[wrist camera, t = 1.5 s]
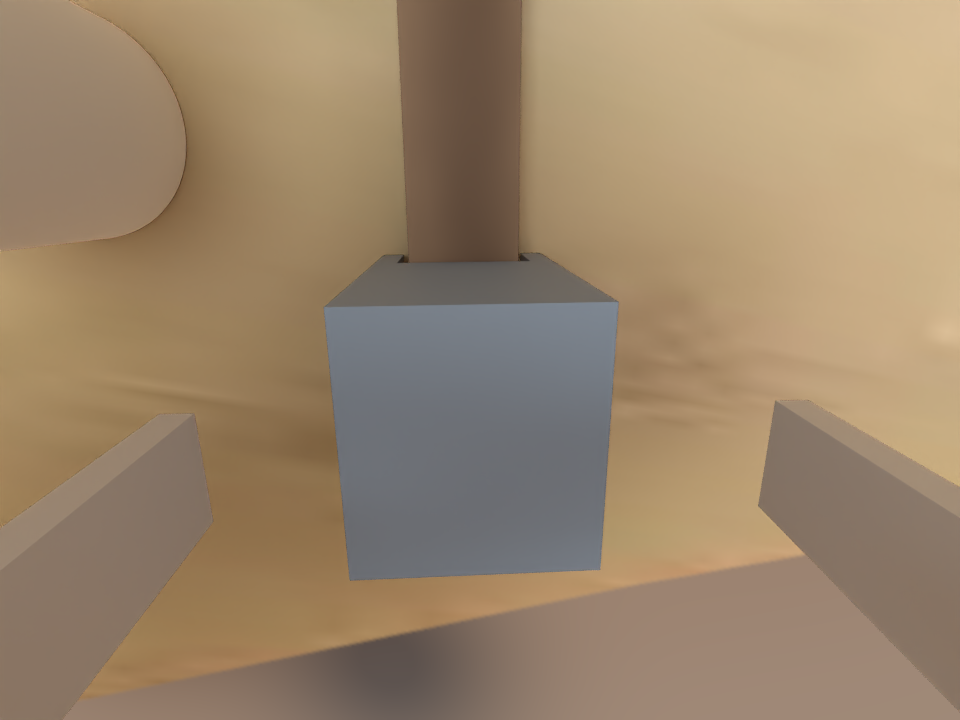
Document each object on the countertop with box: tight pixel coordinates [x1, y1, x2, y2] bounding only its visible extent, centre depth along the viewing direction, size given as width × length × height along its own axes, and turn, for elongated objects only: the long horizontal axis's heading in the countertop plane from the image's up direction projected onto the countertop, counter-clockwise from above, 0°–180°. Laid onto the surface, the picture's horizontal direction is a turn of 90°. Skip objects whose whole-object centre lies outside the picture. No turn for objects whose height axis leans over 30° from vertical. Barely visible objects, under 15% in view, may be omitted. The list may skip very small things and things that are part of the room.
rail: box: [397, 0, 522, 263], centre depth 19 cm, size 5×21×5 cm, turn 0°
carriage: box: [324, 253, 619, 581], centre depth 18 cm, size 6×7×11 cm
